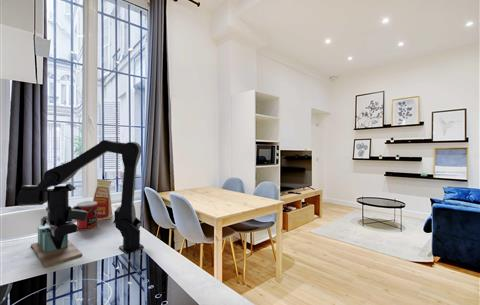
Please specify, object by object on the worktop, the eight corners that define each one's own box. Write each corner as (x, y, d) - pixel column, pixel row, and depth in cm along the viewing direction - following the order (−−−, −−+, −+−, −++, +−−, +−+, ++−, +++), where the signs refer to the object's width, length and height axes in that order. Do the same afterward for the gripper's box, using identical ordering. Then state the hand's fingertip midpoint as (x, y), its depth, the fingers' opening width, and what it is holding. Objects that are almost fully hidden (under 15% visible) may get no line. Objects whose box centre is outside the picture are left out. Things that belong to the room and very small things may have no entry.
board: (82, 255, 79) (82, 253, 79) (44, 267, 71) (44, 265, 71) (64, 237, 92) (64, 235, 92) (31, 246, 84) (31, 243, 84)
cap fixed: (61, 240, 88) (61, 224, 88) (40, 245, 83) (39, 229, 83) (59, 237, 90) (59, 222, 90) (37, 242, 85) (37, 226, 85)
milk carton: (91, 220, 112) (91, 180, 111) (93, 215, 120) (93, 177, 119) (112, 218, 116) (112, 179, 115) (113, 213, 124) (113, 176, 123)
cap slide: (67, 246, 83) (67, 229, 83) (45, 252, 78) (44, 234, 78) (64, 243, 86) (64, 226, 85) (42, 249, 81) (42, 231, 80)
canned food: (90, 230, 100) (90, 206, 100) (72, 229, 100) (72, 205, 100) (101, 224, 108) (101, 201, 107) (84, 223, 108) (84, 200, 107)
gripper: (94, 204, 79) (95, 248, 80) (76, 196, 91) (77, 235, 91) (54, 210, 70) (54, 260, 71) (40, 201, 82) (40, 244, 82)
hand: (58, 248), depth 79 cm, fingers closed
